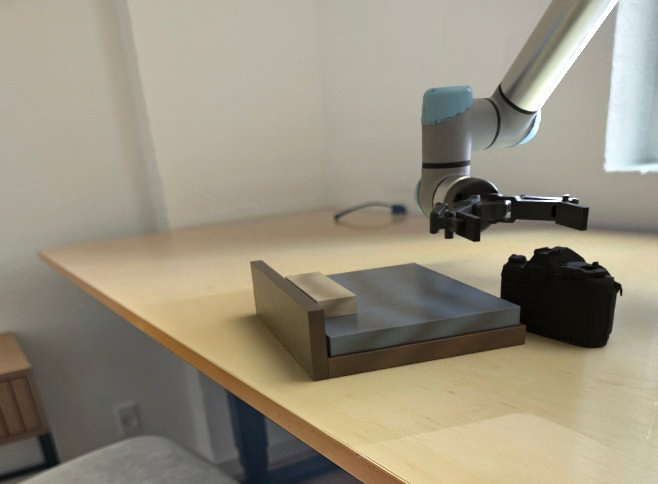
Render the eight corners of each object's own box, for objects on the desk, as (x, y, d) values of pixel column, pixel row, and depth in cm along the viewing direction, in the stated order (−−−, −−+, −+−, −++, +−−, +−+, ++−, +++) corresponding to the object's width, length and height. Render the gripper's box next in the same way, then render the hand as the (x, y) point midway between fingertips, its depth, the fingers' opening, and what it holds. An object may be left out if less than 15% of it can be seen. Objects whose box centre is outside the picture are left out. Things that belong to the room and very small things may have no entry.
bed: (416, 289, 94) (416, 239, 91) (525, 343, 70) (529, 277, 67) (256, 313, 89) (249, 261, 86) (313, 381, 65) (307, 311, 61)
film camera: (653, 332, 70) (667, 245, 66) (590, 352, 66) (600, 261, 62) (544, 305, 82) (551, 231, 78) (486, 321, 78) (489, 243, 74)
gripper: (544, 222, 100) (624, 246, 82) (385, 238, 97) (431, 267, 79) (548, 169, 97) (633, 181, 78) (384, 184, 94) (431, 200, 75)
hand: (532, 224), depth 78 cm, fingers open, 13 cm apart
